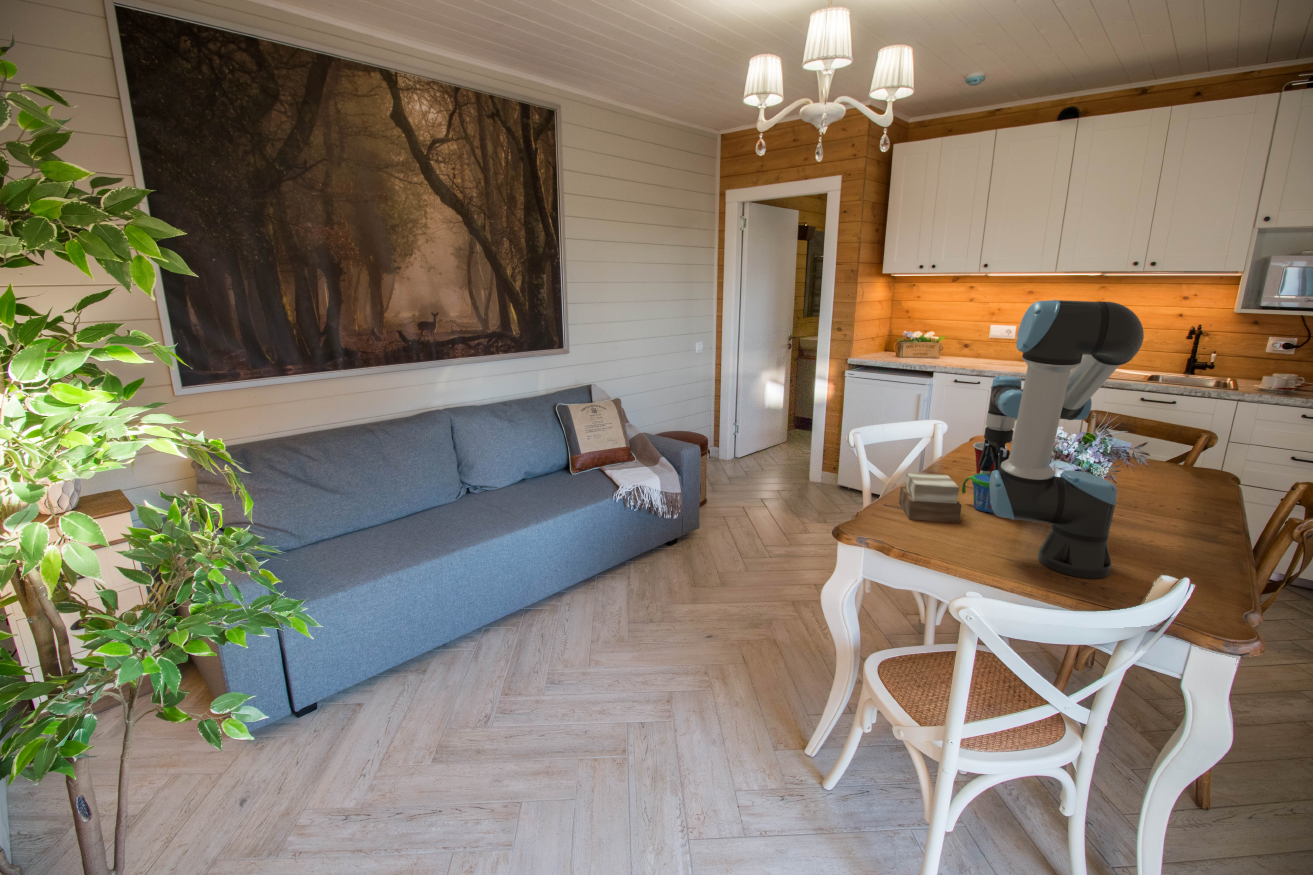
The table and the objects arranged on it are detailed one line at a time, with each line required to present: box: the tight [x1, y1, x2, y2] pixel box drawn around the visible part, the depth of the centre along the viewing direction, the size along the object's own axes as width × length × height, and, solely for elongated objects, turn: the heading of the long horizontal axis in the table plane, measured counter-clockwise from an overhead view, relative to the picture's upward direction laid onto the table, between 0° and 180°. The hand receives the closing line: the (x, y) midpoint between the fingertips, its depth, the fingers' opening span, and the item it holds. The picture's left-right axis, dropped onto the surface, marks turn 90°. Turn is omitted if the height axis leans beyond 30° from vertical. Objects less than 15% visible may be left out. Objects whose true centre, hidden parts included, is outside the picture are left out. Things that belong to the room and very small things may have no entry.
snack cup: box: [961, 473, 995, 514], centre depth 192 cm, size 16×10×10 cm
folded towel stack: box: [898, 472, 963, 524], centre depth 188 cm, size 14×14×10 cm
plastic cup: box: [972, 441, 1008, 474], centre depth 224 cm, size 11×11×12 cm
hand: (988, 496), depth 192 cm, fingers closed on snack cup, 11 cm apart
